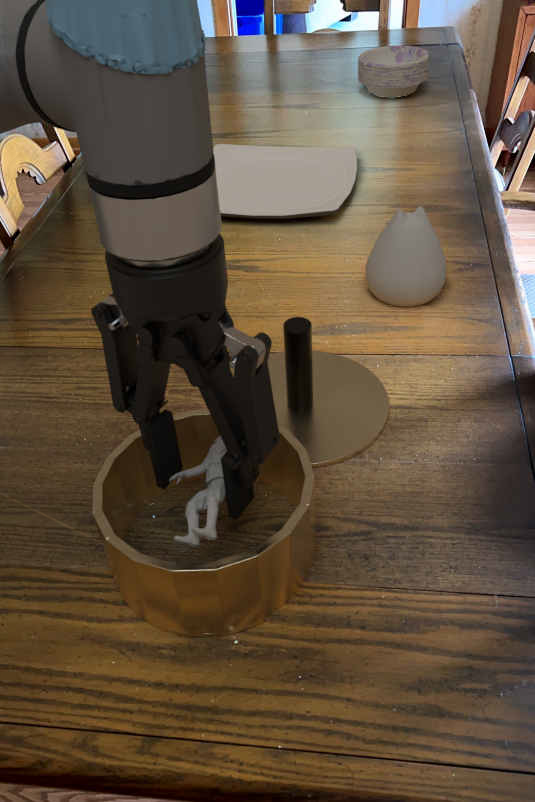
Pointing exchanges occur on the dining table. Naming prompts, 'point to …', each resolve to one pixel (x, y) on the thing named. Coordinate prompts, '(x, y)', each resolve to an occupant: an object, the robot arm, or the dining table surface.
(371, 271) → the toy character
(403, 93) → the paper bowls
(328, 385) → the lid
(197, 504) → the soldier figure
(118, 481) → the pot
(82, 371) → the dining table surface
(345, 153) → the plate
